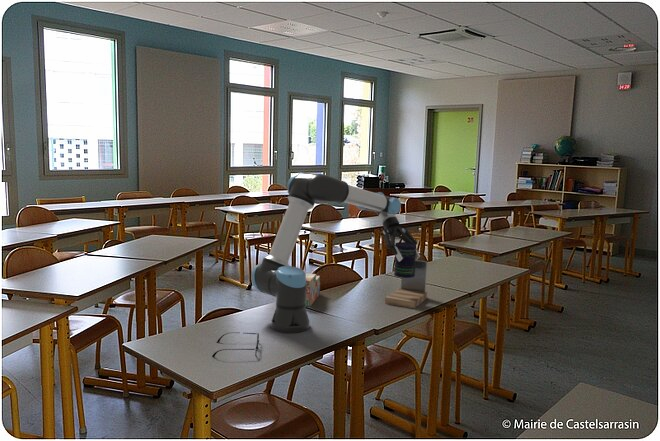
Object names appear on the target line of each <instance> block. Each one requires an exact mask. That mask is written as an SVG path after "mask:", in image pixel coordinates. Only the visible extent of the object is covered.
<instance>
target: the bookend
mask: <svg viewBox="0 0 660 441" xmlns="http://www.w3.org/2000/svg"><path fill="white" fill-rule="evenodd" d="M427 265H428V261H426V260H418V259H417V260H416V259H415V277H412V278H401V284H400V288H401V289H406V290H412V291H419V292H427V290H426V287H427V286H426V285H427V268H428V266H427Z"/></svg>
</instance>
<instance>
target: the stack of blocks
mask: <svg viewBox="0 0 660 441" xmlns="http://www.w3.org/2000/svg"><path fill="white" fill-rule="evenodd" d="M305 274H306V303H305V307H311V306H312V304H313V303H315V301H316V300H317V298H318V297H320V295H321V294H320V291H321V277H320V275H317V274H316V273H305Z"/></svg>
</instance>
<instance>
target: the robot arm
mask: <svg viewBox="0 0 660 441" xmlns="http://www.w3.org/2000/svg"><path fill="white" fill-rule="evenodd" d="M286 186H287V187H286V189H287V194H288V196H287V200H288V203H289V204H288V205H287V207H286V208H287V209H286V211H285V213H284V216H283V218H282V221H281V222H280V223H281V224H280V226H279V228H278V231H277V234H276V236H275V238H274V241H273V244H272V245H271V249H270V251H269V254H268V255H267V256H264V257H263V258H262V261H261V263H258V264H257V265H255V266H254V267H253V269H252V271H251V275H250V276H251V278H250V279H251V283H252V285H253V288H255V289H256V290H257V291H259V292H260V293H263V294H266V295H270V296H272V297H275V300H276V301H275V302H276V303H275V310H274V313H273V316H272V318H271V328H272V330H274V331H277V332H280V333H285V334H286V333H287V334H288V333H290V334H291V333H292V334H294V333H301V332H305V331H307V330H308V329H309V328H310V323H311V322H310V319H309V315H308V312H307V309H306V308H307V307H306V306H305V303H306V274H307V273H306V272H305V270H303V269H302V268H299V267H297V266H291V265H290V264H289V260H290V259H291V258H290V257H291V256H292V253H293V251H294V248H295V246H296V243H297V240H298V237H299V235H300V233H301V230H302V227H303V224H304V222H305V219H306V218H307V216H308V212H309V211H310V210H311V209H313V208H314V206H315V204H316V202H318V203H319V202H320V203H335V204H349V205H353V206H355V207H356V208H358V210H361V211H368V212H375V214H377V216H378V218H379V220H380V222H381V224H382V226H383V228H384V229H383V230H382V231H381V233H382V235H383V237H384V238H383V239H384V242H385V247H386V249H387V250H389V251H390V252H392V254H393V255H394V256H396V258H397V259H398V261H399V262H400V261H401V260H402V259H403V258H402V256H401V254H400V252H399V250H398V248H397V247H395V246H396V245H395V243H396V238H399V239H401V240H402V242H409V243H414V244H416V245H418V241H417V240H416V239H415V238H414V236H413V235H412V234H411V233H410V232H409V230H408V229H407V227H404V228H403V227H401V226H400V225H401V224H400V221H399V219H398V218H397V216H396V214H398V213H399V212H400V211H401V207H402V203H401V200H400V199H399V198H397V197H393V196H392V197H391V196H387V195H385V194H384V193H383V192H381V191H379V192H374V191H369V190H366V189H363V188H359V187H357V186H352V185H350V184H349V183H347V182H346V181H344V180H341V179H338V178H335V177H333V176H330V175H327V174H323V173H315V172H314V173H313V172H307V171H305V172H304V171H302V172H297V173H295V174H293V175H292V176H290V178H289V180H288V181H287V185H286ZM420 257H421V255H420V253H419V250H418V248H417V247H416V256H415V260H418V259H419V258H420Z"/></svg>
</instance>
